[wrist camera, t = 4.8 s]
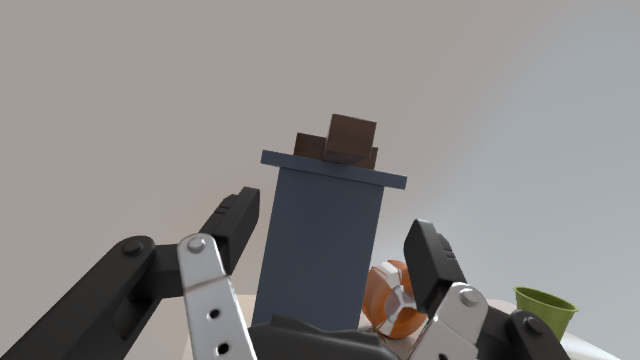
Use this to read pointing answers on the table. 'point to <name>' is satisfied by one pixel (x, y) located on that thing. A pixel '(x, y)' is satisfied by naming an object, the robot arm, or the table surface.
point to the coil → (391, 300)
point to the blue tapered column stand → (320, 240)
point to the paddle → (341, 143)
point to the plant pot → (546, 308)
